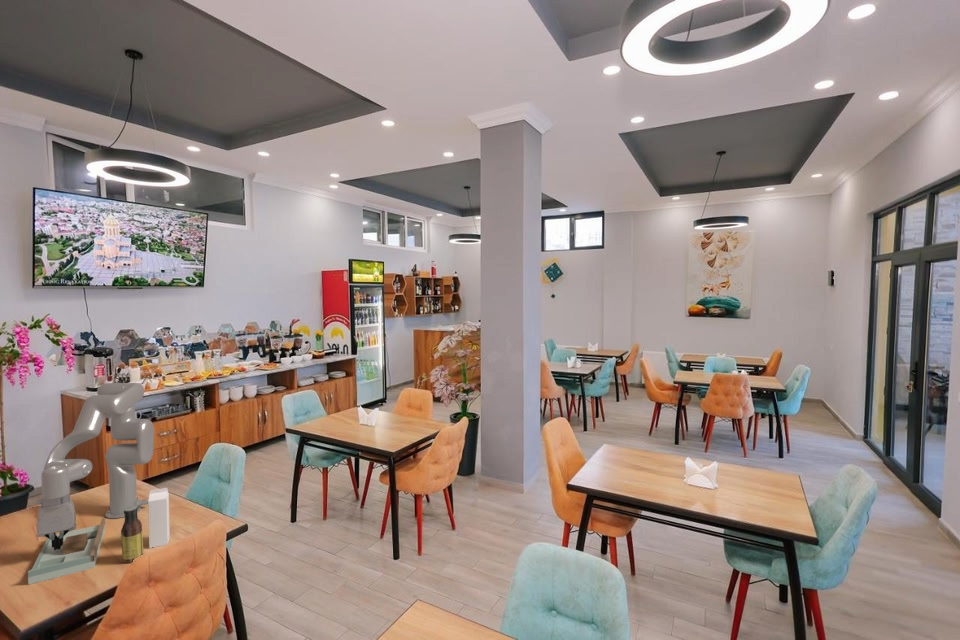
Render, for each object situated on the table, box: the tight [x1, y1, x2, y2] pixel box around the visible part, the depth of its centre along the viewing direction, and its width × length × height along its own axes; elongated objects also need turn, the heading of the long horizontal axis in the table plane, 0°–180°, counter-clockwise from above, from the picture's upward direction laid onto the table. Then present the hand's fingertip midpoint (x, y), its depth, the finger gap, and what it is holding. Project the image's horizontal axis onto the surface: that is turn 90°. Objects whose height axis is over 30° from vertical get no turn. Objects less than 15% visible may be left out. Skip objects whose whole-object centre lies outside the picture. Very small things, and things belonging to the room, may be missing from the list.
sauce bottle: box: [120, 506, 144, 564], centre depth 165 cm, size 7×6×20 cm
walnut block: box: [62, 533, 88, 555], centre depth 167 cm, size 6×6×4 cm
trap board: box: [27, 517, 106, 586], centre depth 168 cm, size 17×32×5 cm, turn 35°
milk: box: [147, 487, 171, 549], centre depth 176 cm, size 6×6×22 cm
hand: (57, 548), depth 165 cm, fingers closed
